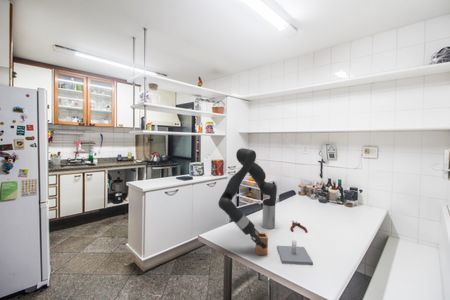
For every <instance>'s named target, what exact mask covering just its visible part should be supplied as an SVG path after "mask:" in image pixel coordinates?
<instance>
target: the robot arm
mask: <svg viewBox="0 0 450 300" xmlns="http://www.w3.org/2000/svg"><path fill="white" fill-rule="evenodd" d="M235 154H236V156H235V157H236V160H237V161H238V163H239V164H240V165H242V167H241V168H239V170H238V171H237V172H236V173H234V175H232V176H231V177H230V178H229V181H228V183H227V185H226V187H225V190H224V191H223V193H222V195H221V196H220V198H219V200H218V208H220V209H221V210H222V211H224V213H226V215H227V216H229V218H230V219H231V221H233V223H235V225H236V226H237V227H238V229H240V230H241V232H242V233H243V234H244V235H249V236H250V240H251V241H253V243H255V245H256V244H257V245H258V246H259V245H260V246H261V247H262V248H263V249H265V248H266V245H265V244H264V243H263V242H262V241H261V240H260V237H259V236H258V234H259V233H260V232H259V231H258V230H257V229H256V227H255V224H254V223H253V222H252V221H251V220H250V218H248V217H247V216H246V215H245V214H244V213H243V212H242V211H241V210H240V209H239V208H238V207H237V206H236V205H235V203H234V202H233V201H232V200H233V198H234V197H235V196H236V194H237V193H238V191H239V188H240V186H241V184H242V182H243V181H244V180H245V177H246V176H247V175H248V174H249V175H250V177H251V179H252V180H253V181H254V182H255V184H256V185H257V186H258V188H259V190H260V192H261V194H262V195H265V196H269V197H268V198H265V199H263V200H262V222H261V224H262V228H264V229H266V230H273V229H275V226H276V202H277V194H278V193H277V191H278V187H277V184H276V183H271V182H267V181H265V180H266V172H265V171H264V169H263V168H262V167H261V165H259V164H258V163H256V162H255V161H256V159H257V153H256V151H255V150H253V149H250V148H244V147H243V148H239V149H237V151H236V153H235ZM257 233H258V234H257ZM257 237H258V238H257ZM258 241H259V242H258Z"/></svg>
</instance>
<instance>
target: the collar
mask: <svg viewBox="0 0 450 300" xmlns="http://www.w3.org/2000/svg"><path fill="white" fill-rule="evenodd" d="M267 233H268V232H259V234H258V233H257V234H258V236H259V237H260V240H261V241H262V242H263V243H264V244H265V245H266V248H265V249H263V248H262V247H261V246H260V245H259V246H258V245H257V244H256V243H255V253H256V255H259V256H261V255H262V256H268V250H269V249H268V244H269V237H268V234H267ZM257 238H258V237H257ZM258 242H259V241H258Z"/></svg>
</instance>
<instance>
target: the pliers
mask: <svg viewBox="0 0 450 300" xmlns="http://www.w3.org/2000/svg"><path fill="white" fill-rule="evenodd" d="M295 227H298V228H300V229H302V230H303V231H304V232H305V233H306V234H307V233H308V229H307V228H306V227H305V226H303V225H301V223H300V222H298V221H297V220H296V221H294V220H292V224H291V226H290V231H291V232H292V233H294V228H295Z"/></svg>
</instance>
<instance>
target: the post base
mask: <svg viewBox="0 0 450 300" xmlns="http://www.w3.org/2000/svg"><path fill="white" fill-rule="evenodd" d="M276 250H277V253H278V255H279V257H280V260H281V264H285V265H286V264H289V265H301V266H302V265H305V266H306V265H307V266H313V265H314V261H313V260H312V258H311V257H310V254H309V253H308V251H307V250H306V248H305V246H297V240H295V239H294V240H293V239H292V241H291V245H276Z"/></svg>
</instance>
